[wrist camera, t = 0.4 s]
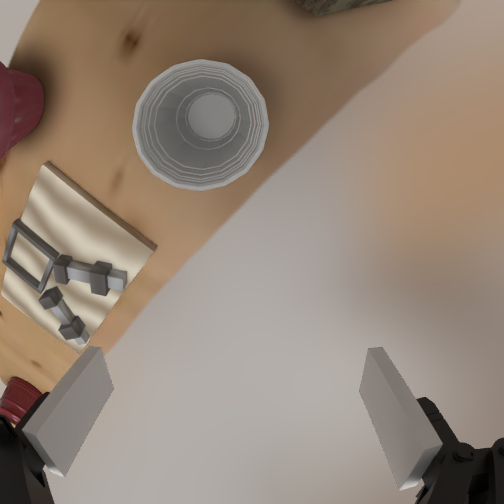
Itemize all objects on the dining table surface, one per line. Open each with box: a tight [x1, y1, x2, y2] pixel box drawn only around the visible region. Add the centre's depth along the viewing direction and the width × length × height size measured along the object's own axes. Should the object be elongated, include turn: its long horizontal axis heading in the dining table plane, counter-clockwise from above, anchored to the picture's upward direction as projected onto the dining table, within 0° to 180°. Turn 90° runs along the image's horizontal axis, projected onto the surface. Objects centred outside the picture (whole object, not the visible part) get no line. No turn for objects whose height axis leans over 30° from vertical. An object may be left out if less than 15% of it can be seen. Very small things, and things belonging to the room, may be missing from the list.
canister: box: [0, 377, 42, 428], centre depth 53 cm, size 13×13×18 cm
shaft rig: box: [1, 161, 157, 354], centre depth 39 cm, size 30×20×4 cm
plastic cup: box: [132, 59, 269, 191], centre depth 27 cm, size 11×11×12 cm
